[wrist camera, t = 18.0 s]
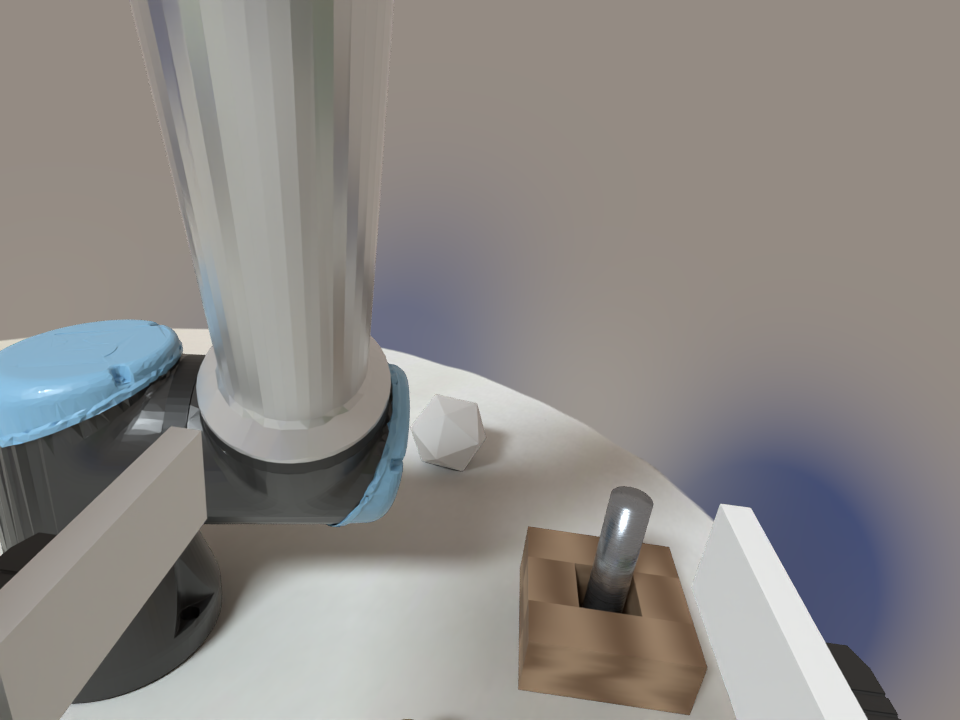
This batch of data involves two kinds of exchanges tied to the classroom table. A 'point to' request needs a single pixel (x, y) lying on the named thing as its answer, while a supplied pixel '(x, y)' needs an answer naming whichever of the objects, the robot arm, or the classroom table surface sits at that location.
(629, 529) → the long metal pin
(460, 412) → the die
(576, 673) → the hole block
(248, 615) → the classroom table surface
